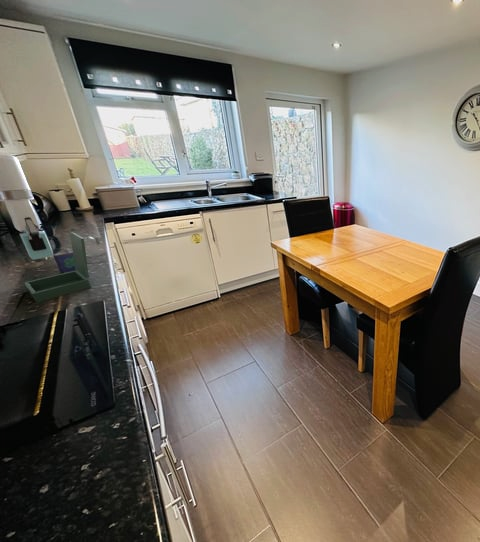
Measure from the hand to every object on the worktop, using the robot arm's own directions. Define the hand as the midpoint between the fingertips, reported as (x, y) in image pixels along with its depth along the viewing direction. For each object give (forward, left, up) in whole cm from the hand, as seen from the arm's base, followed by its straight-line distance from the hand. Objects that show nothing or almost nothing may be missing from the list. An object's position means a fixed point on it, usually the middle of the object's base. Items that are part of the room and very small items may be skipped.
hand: (38, 247), depth 98 cm
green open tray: (0, +3, -19) cm, 19 cm away
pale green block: (0, 0, -3) cm, 3 cm away
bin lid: (+8, +5, -6) cm, 12 cm away
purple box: (+3, +25, -19) cm, 32 cm away
